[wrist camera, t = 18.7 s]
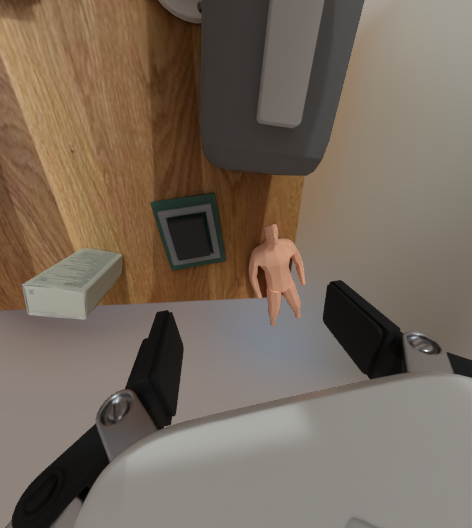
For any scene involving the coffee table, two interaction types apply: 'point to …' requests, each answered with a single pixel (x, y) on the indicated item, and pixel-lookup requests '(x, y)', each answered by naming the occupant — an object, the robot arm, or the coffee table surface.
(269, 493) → the robot arm
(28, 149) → the coffee table surface
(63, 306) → the cosmetic box
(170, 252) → the base pad
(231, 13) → the alarm clock
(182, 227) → the black block
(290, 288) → the male figurine
